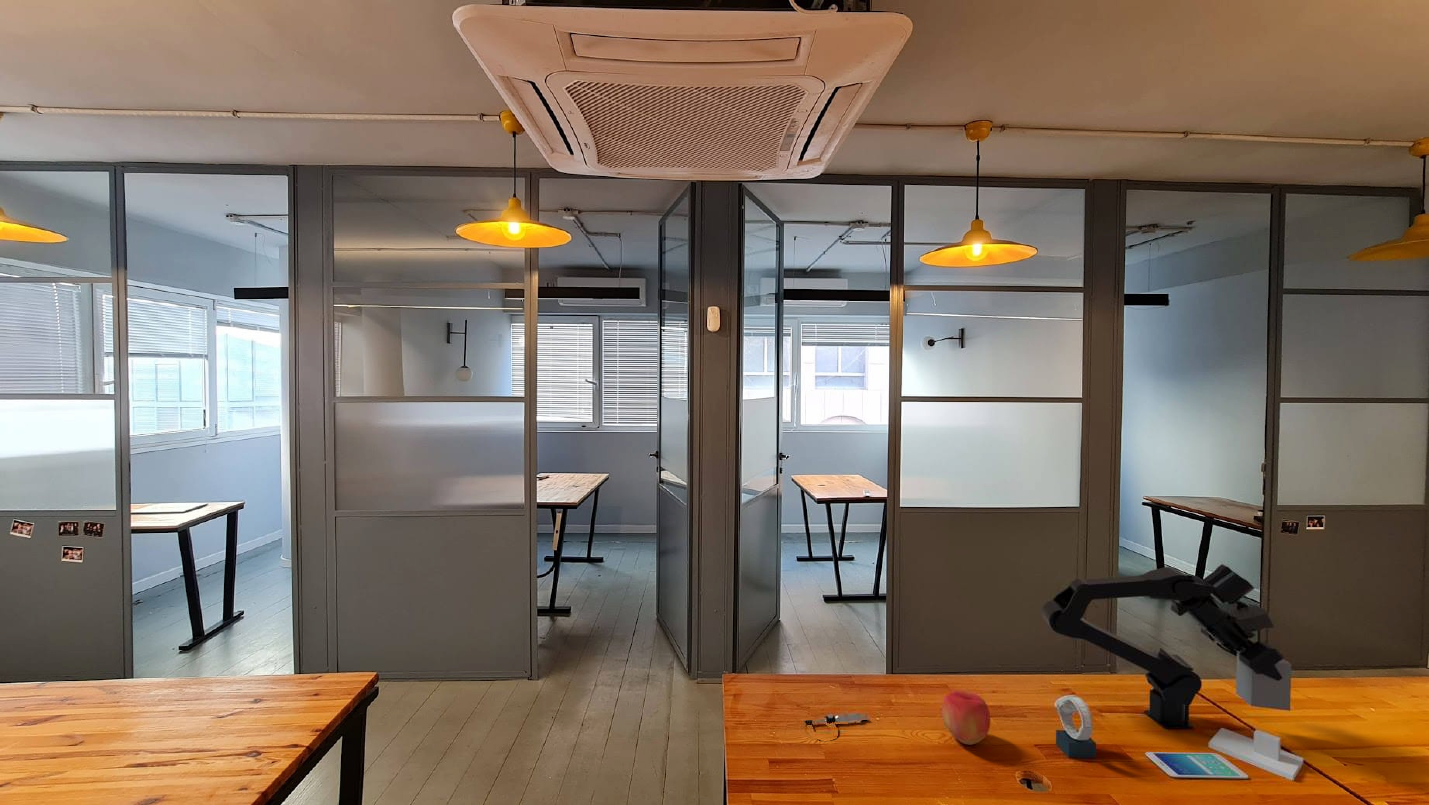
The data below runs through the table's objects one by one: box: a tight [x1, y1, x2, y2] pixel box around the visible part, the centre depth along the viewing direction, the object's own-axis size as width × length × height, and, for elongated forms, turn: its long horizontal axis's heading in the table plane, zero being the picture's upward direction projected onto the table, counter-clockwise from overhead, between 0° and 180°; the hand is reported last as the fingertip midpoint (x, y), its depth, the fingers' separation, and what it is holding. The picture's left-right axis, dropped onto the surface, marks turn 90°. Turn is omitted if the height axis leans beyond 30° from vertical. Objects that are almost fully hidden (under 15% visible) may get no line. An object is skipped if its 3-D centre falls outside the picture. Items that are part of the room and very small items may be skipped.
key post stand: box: [1208, 727, 1304, 781], centre depth 116 cm, size 12×9×5 cm
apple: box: [941, 689, 991, 746], centre depth 121 cm, size 10×10×10 cm
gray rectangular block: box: [1235, 650, 1292, 712], centre depth 123 cm, size 7×5×10 cm
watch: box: [1054, 694, 1097, 759], centre depth 117 cm, size 6×8×11 cm
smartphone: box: [1145, 751, 1249, 781], centre depth 112 cm, size 8×1×15 cm
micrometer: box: [804, 712, 869, 729], centre depth 124 cm, size 15×7×3 cm, turn 99°
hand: (1270, 672), depth 122 cm, fingers closed on gray rectangular block, 5 cm apart
